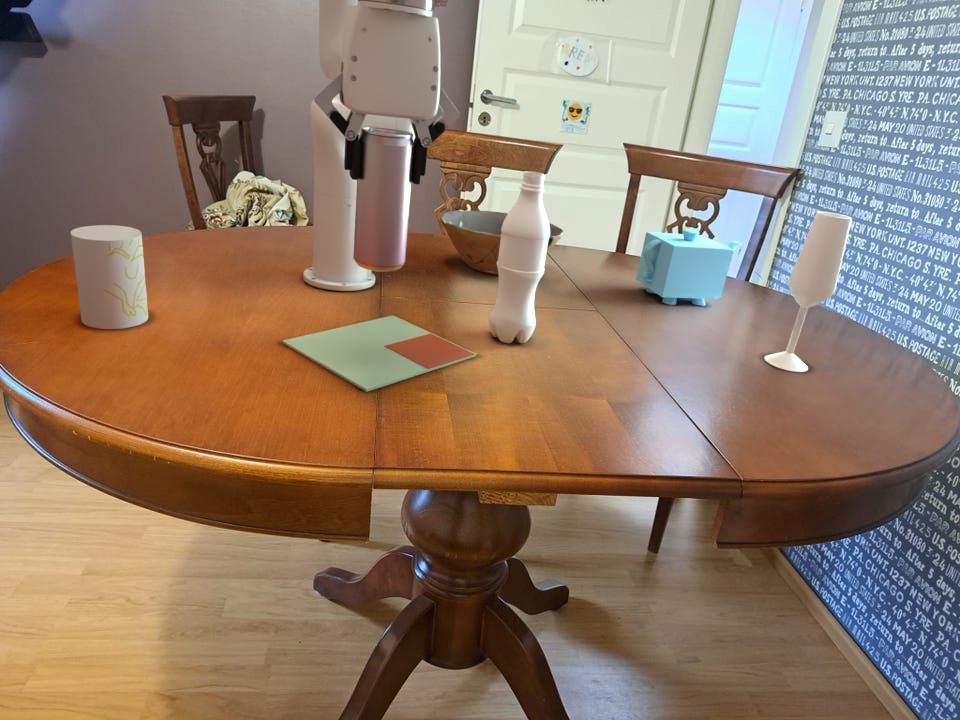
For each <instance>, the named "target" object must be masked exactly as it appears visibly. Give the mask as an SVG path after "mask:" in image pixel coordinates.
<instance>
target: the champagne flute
mask: <svg viewBox="0 0 960 720" xmlns="http://www.w3.org/2000/svg"><path fill="white" fill-rule="evenodd" d="M852 220H853V218H852V217H851V216H850V215H849V216H848V215H845V214H840V213H835V212H829V211H816V214H815V216H814V219H813V221H812V224H811V226H810V228H809V230H808V233H807V235H806V238H805V240H804V242H803V244H802V247H801V250H800V251H799V254H798V257H797V258H796V261H795V263H794V266H793V268H792V270H791V273H790V275H789V277H788V280H787V286H788V289H789V292H790V294H791V296H792V297H793V299H794V300H795V302H796V303H797V304H798V305H799V309H798V312H797V315H796V318H795V320H794V324H793V327H792V331H791V334H790V336H789V340H788V343H787V346H786V349H785V351H780V352H776V353H772V354H768V355H767V354H766V355H765V356H764V357H763V358H764V361H765V362H767V363H768V364H769V365H771V366H773V367H776V368H778V369H781V370H784V371H789V372H795V373H804V372H807V371H808V370H809V367H808V366H807V365H806V363H804V361H802V360H801V358H799V357H798V356H797V354H795V353H794V352H795V350H796V346H797V343H798V341H799V337H800V335H801V331H802V329H803V325H804V322H805V320H806V316H807V313H808V310H809V308H813V307H816V306H818V305H819V304H821V303H823V302H825V301H827V300H828V299H829V298H831V297H832V296H833V295H834V294H835V292H836V289H837V284H838V281H839V276H840V271H841V268H842V263H843V259H844V254H845V250H846V247H847V241H848V237H849V233H850V230H851V229H850V228H851V225H852Z"/></svg>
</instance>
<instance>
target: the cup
mask: <svg viewBox="0 0 960 720" xmlns="http://www.w3.org/2000/svg"><path fill="white" fill-rule="evenodd" d="M142 234H143V233H142V231H141V230H139V229H137V228H134V227H131V226H125V225H113V224H98V225H86V226H79V227H76V228H74V229H72V230H71V231H70V239H71V240H70V241H71V247H72V257H73V261H74V262H73V264H74V271H75V272H74V273H75V279H76V287H77V296H78V303H79V311H80V319H81V323H82V324H83V325H85V326H87V327H90V328H92V329H93V328H94V329H100V330H122V329H127V328H134V327H136V326H140V325H143V324H144V323H146V322H147V321H148V320H149V308H148V307H149V306H148V295H147V294H148V293H147V284H146V271H145V260H144V247H143V235H142Z"/></svg>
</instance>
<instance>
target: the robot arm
mask: <svg viewBox="0 0 960 720" xmlns="http://www.w3.org/2000/svg"><path fill="white" fill-rule="evenodd" d="M448 2H449V0H319V2H318V4H319V5H318V6H319V8H318V10H319V13H318V14H319V15H318V16H319V18H318V22H319V25H318V26H319V27H318V28H319V29H318V31H319V32H318V34H319V35H318V37H319V38H318V41H319V42H318V43H319V45H318V47H319V63H320V68H321V71H322V73H323V75H324V76H325V77H326V79H329V80H331V81H329V82H328V83H327V85H325V86H324V87H323V88H322V89H321V90H320V91H319V92H318V93H317V94H316V95H315V96H314V98H313V99H312V101H311V104H310V107H309V125H310V133H311V134H310V135H311V142H312V152H313V220H312V221H313V222H312V223H313V225H312V266H310V267H308V268H306V269H305V270H304V271H303V273H302V276H303V277H302V278H303V281H304V282H305V283H306V284H308V285H310V286H312V287H315V288H318V289H322V290H328V291H337V292H354V291H361V290H366V289H367V290H368V289H369V288H371V287H373V286H374V285H375V283H376V276H375V274H374V273H373V271H372V270H367V269H364V268H362V267H360V266H358V265H357V264H356V262H355V260H354V258H353V254H354V233H355V211H356V190H357V180H358V179H359V178H360V158H361V142H359V137H360V135H361V132H362V131H361V128H362V127H381V128H390V129H397V130H403V131H407V132H411V133H413V142H414V156H413V168H412V181H411V183H413V184H414V185H420V184H421V176H422V177H425V176H426V168H427V157H428V148H430V147H431V145H432V144H433V142H434V141H436V140H437V139H438V138H439V137H440V136H441V135H442V134H444V133H445V131H446V130H447V129H448V128H450V127H451V126H452V125H453V124H454V123H456V121H458V120H459V119H460V116H461V114H460V111H459V110H458V108H457V107H456V106H455V104H454V103H453V102H452V100H451V99H450V98H449V96H448V95H447V94H446V92H445V91H444V88H443V87H442V86H441V35H440V23H439V18H437V17H433V12H435V10H436V8H440V7H444V8H445V7H447V5H448ZM439 108H440V110H441V115H440V116H439V117H438V118H437V119H436V120H433V121H432V122H431V123H430V124H429V125H428V123H427V120H429V119H430V120H431V119H432V118H434V117H436V116H437V114H438V111H439Z"/></svg>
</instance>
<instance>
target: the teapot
mask: <svg viewBox="0 0 960 720" xmlns="http://www.w3.org/2000/svg"><path fill="white" fill-rule="evenodd" d="M744 244H745V241H737V240H735V241H734V240H733V241H730V242H728V243H727V244H726V245H725V244H722V243H720V242H718V241H715V240H713V239H712V238H708V237H706V236H704V235H702V234H700V232H699V231H697V230H694V229H691V228H690V229H688V228H684V229H683V230H682V233H671V232H656V231H646V232H645V236H644V241H643V245H642V251H641V254H640V260H639V263H638V268H637V273H636V277H635V281H637V282H639V283H640V284H641V285H643V286H645V287H646V290H645V291H646V292H647V293H650V294H657V295H658V296H660V297H661V298H662V300H661V302H662V304H663V303H664V304H666V305H671V306H674V305H677V300H678V299H690V301H691V303H692V304H693V305H696V306H706V302H705V300H721V298H722V294H723V291H724V287H725V284H726V280H727V277H728V273H729V270H730V266H731V262H732V258H733V254H734V251H735V250H736V249H737V248H738V247H740V246H742V245H744Z"/></svg>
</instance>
